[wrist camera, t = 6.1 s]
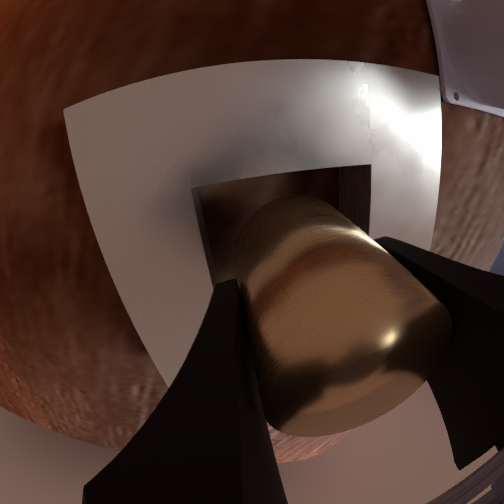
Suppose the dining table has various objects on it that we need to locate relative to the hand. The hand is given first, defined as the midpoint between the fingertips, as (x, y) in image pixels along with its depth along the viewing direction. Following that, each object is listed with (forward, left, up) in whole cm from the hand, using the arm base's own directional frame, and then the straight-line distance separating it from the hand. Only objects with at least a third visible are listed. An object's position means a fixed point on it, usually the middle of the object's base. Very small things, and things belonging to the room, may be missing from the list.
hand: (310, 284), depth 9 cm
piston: (0, 0, -2) cm, 2 cm away
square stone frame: (0, 0, -5) cm, 5 cm away
